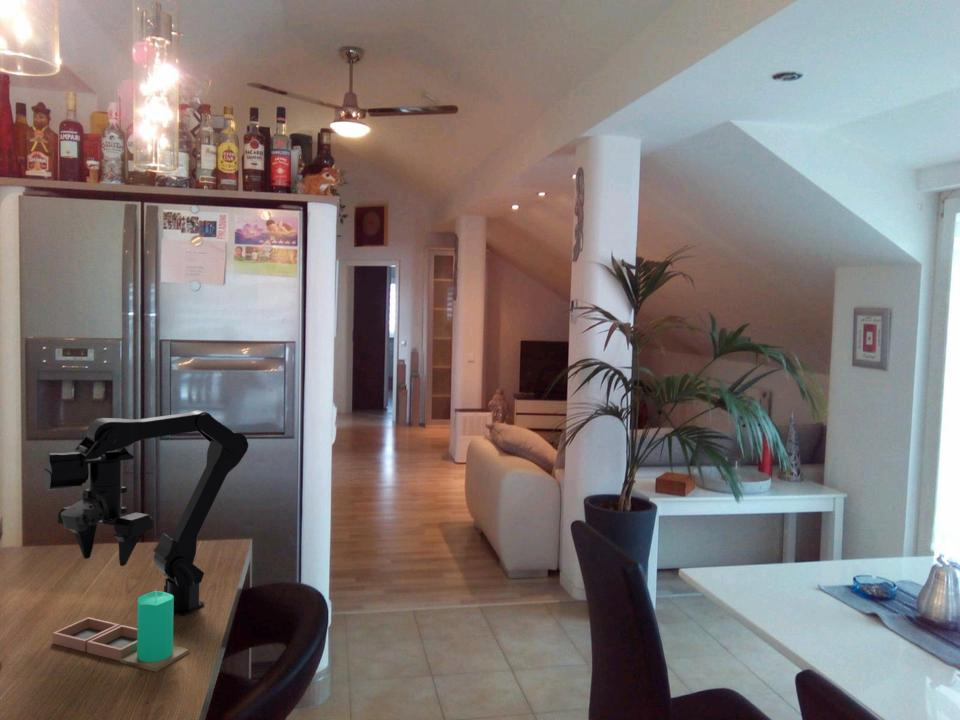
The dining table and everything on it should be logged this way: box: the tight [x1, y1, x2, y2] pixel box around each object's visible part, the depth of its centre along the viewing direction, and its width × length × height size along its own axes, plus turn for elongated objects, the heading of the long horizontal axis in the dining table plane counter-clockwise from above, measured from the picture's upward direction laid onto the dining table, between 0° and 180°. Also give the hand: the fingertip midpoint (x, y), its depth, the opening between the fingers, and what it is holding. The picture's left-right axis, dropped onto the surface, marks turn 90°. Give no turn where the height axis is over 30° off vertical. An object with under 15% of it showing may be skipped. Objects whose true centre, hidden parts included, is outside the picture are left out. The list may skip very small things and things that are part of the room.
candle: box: [136, 590, 175, 662], centre depth 134 cm, size 6×6×12 cm
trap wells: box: [51, 616, 137, 662], centre depth 139 cm, size 16×8×2 cm, turn 70°
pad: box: [120, 645, 190, 673], centre depth 134 cm, size 8×8×1 cm
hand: (104, 561), depth 146 cm, fingers open, 9 cm apart
